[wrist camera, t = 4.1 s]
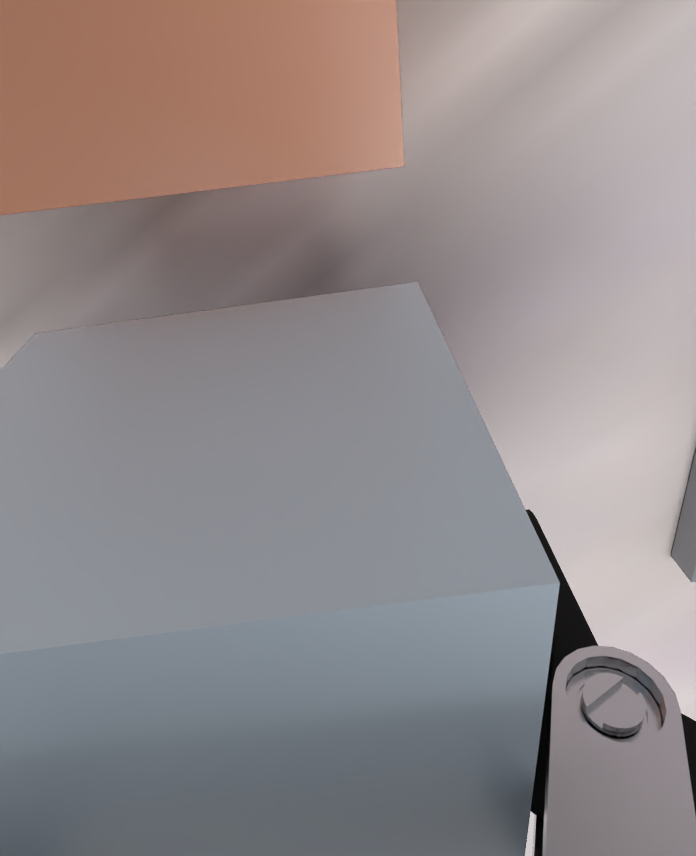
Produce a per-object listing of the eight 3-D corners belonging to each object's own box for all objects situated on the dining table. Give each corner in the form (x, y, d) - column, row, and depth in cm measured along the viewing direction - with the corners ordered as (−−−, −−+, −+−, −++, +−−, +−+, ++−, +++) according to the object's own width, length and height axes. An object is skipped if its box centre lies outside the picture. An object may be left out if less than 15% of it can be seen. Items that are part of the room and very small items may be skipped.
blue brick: (35, 333, 9) (-303, 693, 4) (417, 281, 9) (560, 582, 4) (178, 647, 13) (103, 1003, 8) (434, 615, 13) (511, 955, 8)
